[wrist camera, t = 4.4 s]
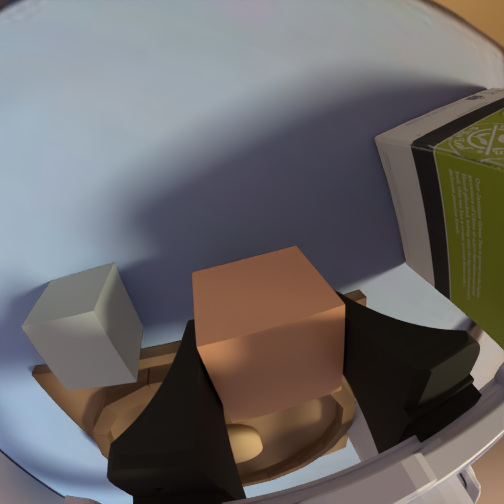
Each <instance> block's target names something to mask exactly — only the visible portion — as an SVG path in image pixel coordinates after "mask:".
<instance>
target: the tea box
mask: <svg viewBox="0 0 504 504" xmlns="http://www.w3.org/2000/svg"><path fill="white" fill-rule="evenodd" d="M374 140H375V143H376V146H377V149H378V152H379V155H380V159H381V162H382V165H383V169H384V172H385V175H386V179H387V183H388V186H389V190H390V194H391V197H392V201H393V205H394V209H395V213H396V218H397V222H398V227H399V231H400V236H401V241H402V245H403V250H404V255H405V259H406V264H407V265H408V266H409V267H410V268H412V269H413V270H414V271H415V272H417V273H418V274H419V275H420V276H421V277H422V278H424V279H425V280H426V281H427V282H429V283H430V284H431V285H432V286H433V287H434V288H435V289H437V290H438V291H439V292H440V293H441V294H443V295H444V296H445V297H446V298H448V299H449V300H450V301H451V302H452V303H453V304H455V305H456V306H457V307H458V308H459V309H460V310H461V311H463V312H464V313H465V314H466V315H467V316H468V317H469V318H470V319H472V320H473V321H474V322H475V323H476V324H477V325H478V326H479V327H480V328H482V329H483V330H484V331H485V332H486V333H487V334H488V335H489V336H490V337H491V338H492V339H493V340H494V341H495V342H496V343H497V344H498V345H499V346H500V347H501V348H502V349H503V350H504V89H502V88H491V89H488V90H484V91H481V92H478V93H476V94H473V95H471V96H468V97H465V98H462V99H460V100H458V101H456V102H453V103H451V104H448V105H446V106H443V107H440V108H437V109H435V110H433V111H430V112H429V113H427V114H424V115H422V116H420V117H417V118H415V119H412V120H410V121H407V122H405V123H403V124H401V125H398V126H397V127H395V128H393V129H390V130H388V131H386V132H384V133H382V134H380V135H377V136H375V139H374Z"/></svg>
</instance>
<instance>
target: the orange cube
mask: <svg viewBox="0 0 504 504" xmlns="http://www.w3.org/2000/svg"><path fill="white" fill-rule="evenodd" d="M192 285H193V303H194V319H195V333H196V345H197V349H198V351H199V354H200V356H201V358H202V361H203V363H204V365H205V367H206V369H207V372H208V374H209V376H210V378H211V380H212V382H213V385H214V387H215V389H216V391H217V393H218V395H219V397H220V399H221V401H222V403H223V405H224V407H225V409H226V411H227V413H228V415H229V417H230V419H231V421H232V423H236V422H240V421H244V420H248V419H252V418H256V417H260V416H264V415H267V414H271V413H274V412H278V411H281V410H285V409H288V408H291V407H294V406H297V405H301V404H304V403H307V402H310V401H312V400H315V399H318V398H321V397H324V396H326V395H329V394H332V393H334V392H337V391H340V390H341V388H342V375H343V359H344V337H345V304H344V302H343V301H342V300H341V299H340V297H339V296H338V295H337V294H336V293H335V291H334V290H333V289H332V288H331V286H330V285H329V284H328V283H327V282H326V280H325V279H324V278H323V277H322V276H321V274H320V273H319V272H318V271H317V270H316V268H315V267H314V266H313V265H312V264H311V263H310V261H309V260H308V259H307V258H306V257H305V255H304V254H303V253H302V252H301V251H300V250H299V248H298V247H297V246H292V247H289V248H285V249H281V250H277V251H273V252H269V253H266V254H262V255H258V256H254V257H250V258H246V259H242V260H239V261H235V262H231V263H227V264H223V265H219V266H215V267H211V268H208V269H204V270H200V271H196V272H192Z"/></svg>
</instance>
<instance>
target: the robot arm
mask: <svg viewBox="0 0 504 504" xmlns="http://www.w3.org/2000/svg"><path fill="white" fill-rule="evenodd" d="M333 290H334V289H333ZM334 291H335V290H334ZM335 293H336V294H337V295H338V296H339V297H340V299H341V300H342V301H343V302H344V304H345V337H344V359H343V375H344V377H345V379H346V380H347V382H348V384H349V386H350V388H351V390H352V392H353V394H354V396H355V400H356V406H355V412H354V417H353V422H352V425H351V427H350V428H349V429H348V430H347V432H346V433H347V435H348V437H349V439H350V441H351V443H352V445H353V447H354V449H355V451H356V452H357V454H358V456H359V458H360V460H361V463H359V464H356V465H354V466H352V467H349V468H347V469H344V470H342V471H339V472H337V473H334V474H331V475H329V476H326V477H323V478H320V479H318V480H315V481H312V482H309V483H305V484H302V485H299V486H296V487H292V488H289V489H285V490H281V491H278V492H274V493H270V494H265V495H261V496H256V497H252V498H246V495H245V492H244V489H243V486H242V483H241V480H240V477H239V473H238V470H237V466H236V463H235V459H234V455H233V451H232V448H231V444H230V440H229V436H228V431H227V427H226V423H225V416H224V408H223V403H222V401H221V399H220V397H219V395H218V393H217V391H216V389H215V387H214V385H213V382H212V380H211V378H210V376H209V374H208V372H207V369H206V367H205V365H204V363H203V361H202V358H201V356H200V354H199V351H198V349H197V345H196V333H195V319H193V320H189V321H188V323H187V325H186V329H185V332H184V335H183V338H182V340H181V343H180V346H179V348H178V351H177V353H176V356H175V358H174V360H173V362H172V364H171V366H170V368H169V371H168V373H167V375H166V376H165V378H164V380H163V382H162V384H161V385H160V387H159V389H158V390H157V392H156V393H155V395H154V396H153V398H152V399H151V401H150V402H149V404H148V405H147V406H146V408H145V409H144V410H143V411H142V413H141V414H140V415H139V416H138V417H137V418H136V420H135V421H134V422H133V423H132V424H131V425H130V426H129V427H128V428H127V429H126V430H125V431H124V432H123V433H122V434H121V435H120V436H119V437H118V438H116V439H115V440H114V441H113V442H112V443H111V444H110V449H109V455H108V469H107V478H108V480H109V481H110V482H111V483H112V484H114V485H115V486H116V487H118V488H120V489H121V490H123V491H125V492H126V493H128V494H130V495H132V496H133V504H476V502H477V500H478V499H479V496H480V493H481V491H480V488H481V486H480V484H479V482H478V481H477V479H476V477H475V474H474V471H473V469H472V467H471V466H470V465H471V464H472V463H473V462H475V461H476V460H477V459H478V458H479V457H480V456H482V455H483V454H484V453H485V452H486V451H487V450H488V449H489V448H491V447H492V446H493V445H494V444H495V443H496V442H497V441H498V440H499V439H500V438H501V437H502V436H503V435H504V363H503V364H502V365H501V366H500V367H499V369H498V370H497V372H496V374H495V377H494V378H493V379H492V380H491V381H490V382H488V383H487V384H486V385H485V386H484V387H482V388H481V389H480V390H479V391H478V390H477V389H476V387H475V386H474V385H473V384H472V383H473V381H474V378H473V377H472V376H471V375H470V372H471V370H472V368H473V366H474V364H475V362H476V360H477V358H478V355H479V352H480V345H479V343H478V342H477V341H476V340H475V339H474V338H473V337H472V336H471V335H469V334H468V333H467V332H466V331H462V330H445V329H437V328H430V327H425V326H420V325H416V324H412V323H408V322H404V321H401V320H398V319H395V318H392V317H389V316H386V315H383V314H381V313H379V312H376V311H374V310H372V309H370V308H367V307H365V306H363V305H361V304H359V303H357V302H355V301H353V300H352V299H350V298H348V297H346V296H344V295H342V294H341V293H339V292H337V291H335ZM64 504H101V503H99V502H97V501H95V500H92V499H87V498H81V497H74V496H68V495H67V496H65V503H64Z"/></svg>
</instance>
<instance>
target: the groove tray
mask: <svg viewBox="0 0 504 504" xmlns="http://www.w3.org/2000/svg"><path fill="white" fill-rule="evenodd" d="M344 296H346V297H348V298H350V299H352V300H353V301H355V302H357V303H359V304H361V305H363V306H365V307H366V299H367V297H366V296H365V295H364V294H363V293H362V292H361V291H360V290H357V291H354V292H351V293H348V294H345V295H344ZM180 343H181V341H178V342H173V343H169V344H164V345H159V346H154V347H150V348H145V349H140V357H139V366H138V375H137V382H133V383H127V384H119V385H112V386H104V387H95V388H86V389H75V390H67V389H66V388H65V387H64V386H63V384H62V383H61V382H60V381H59V380H58V378H57V377H56V376H55V375H54V373H53V372H52V371H51V369H50V368H49V367H48V365H38V366H35V368H34V370H33V372H32V376H33V377H34V378H35V380H36V381H37V382H38V383H39V384H40V386H41V387H42V388H43V389H44V390H45V391H46V392H47V394H48V395H49V396H50V397H51V398H52V399H53V400H54V401H55V402H56V404H57V405H58V406H59V407H60V408H61V409H62V410H63V411H64V412H65V413H66V414H67V415H68V416H69V417H70V418H71V419H72V420H73V421H74V422H75V423H76V424H77V425H78V426H79V427H80V428H81V429H82V430H84V431H85V432H86V433H87V434H88V435H89V436H90V437H91V438H92V439H94V440H95V441H96V442H97V445H98V447H99V449H100V451H101V453H102V455H103V456H104V457H105V458H107V459H108V455H109V449H110V444H111V443H112V442H113V441H114V440H115V439H116V438H118V437H119V436H120V435H121V434H122V433H123V432H124V431H125V430H126V429H127V428H128V427H129V426H130V425H131V424H132V423H133V422H134V421H135V420H136V418H137V417H138V416H139V415H140V414H141V413H142V411H143V410H144V409H145V408H146V406H147V405H148V404H149V402H150V401H151V399H152V398H153V396H154V395H155V393H156V392H157V390H158V389H159V387H160V385H161V384H162V382H163V380H164V378H165V376H166V375H167V373H168V371H169V368H170V366H171V364H172V362H173V360H174V358H175V356H176V353H177V351H178V348H179V346H180ZM355 406H356V400H355V396H354V394H353V392H352V390H351V388H350V386H349V384H348V382H347V380H346V379H345V377H344V375H342V388H341V390H340V391H337V392H334V393H332V394H329V395H326V396H324V397H321V398H318V399H315V400H312V401H310V402H307V403H304V404H301V405H297V406H294V407H291V408H288V409H285V410H281V411H278V412H274V413H271V414H267V415H264V416H260V417H256V418H252V419H248V420H244V421H240V422H236V423H232V421H231V419H230V417H229V415H228V413H227V411H226V409H225V407H224V405H223V408H224V416H225V423H226V427H227V431H228V436H229V440H230V444H231V448H232V451H233V455H234V459H235V463H236V466H237V470H238V473H239V477H240V480H241V483H242V486H243V487H245V486H249V485H254V484H258V483H263V482H267V481H271V480H274V479H276V478H279V477H281V476H284V475H286V474H289V473H291V472H294V471H296V470H298V469H300V468H303V467H305V466H307V465H308V464H310V463H311V462H313V461H314V460H316V459H317V458H319V457H321V456H324V455H327V454H330V453H332V452H335V451H337V450H340V449H342V448H345V447H346V444H347V439H348V435H347V433H346V432H347V430H348V429H349V428H350V427H351V425H352V422H353V417H354V412H355Z"/></svg>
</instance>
